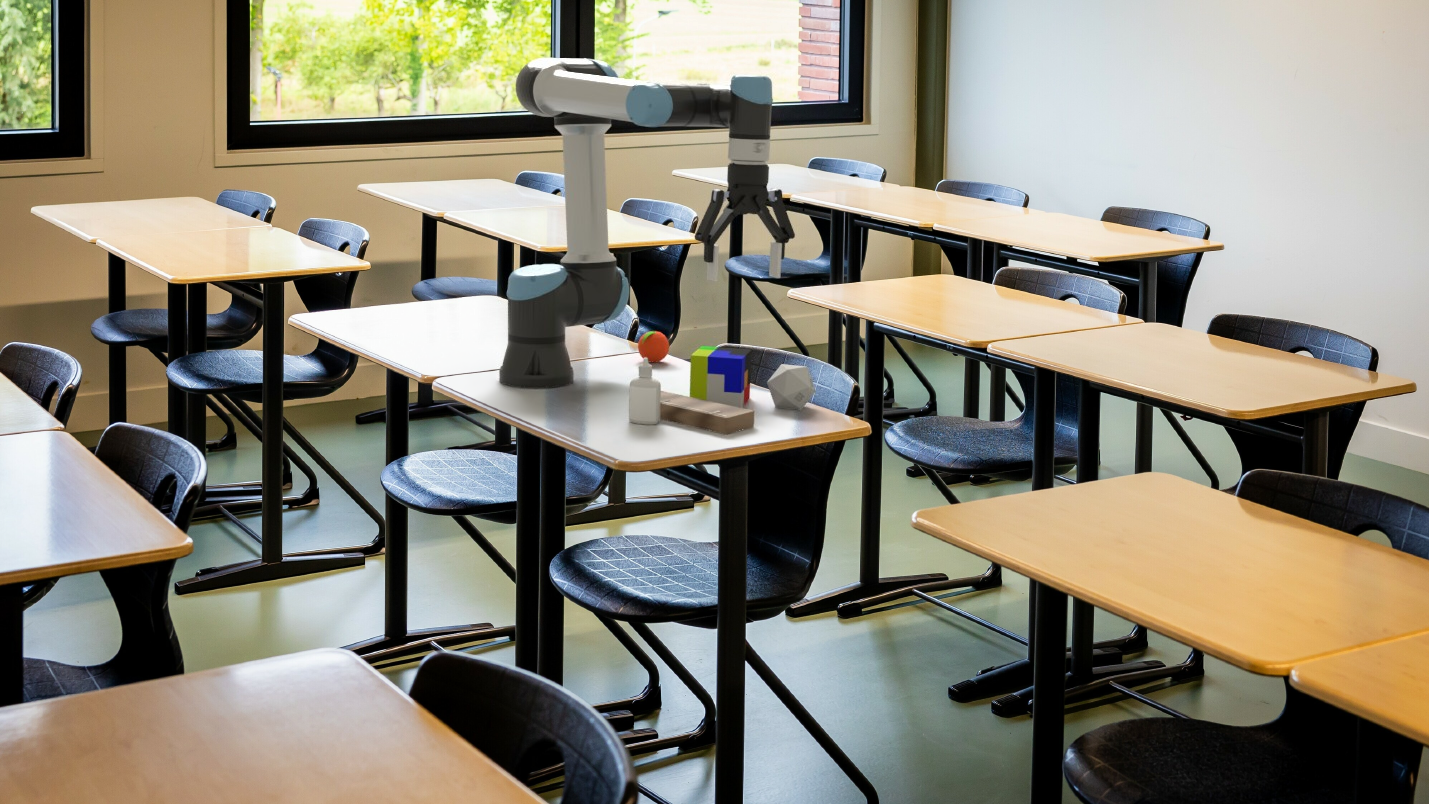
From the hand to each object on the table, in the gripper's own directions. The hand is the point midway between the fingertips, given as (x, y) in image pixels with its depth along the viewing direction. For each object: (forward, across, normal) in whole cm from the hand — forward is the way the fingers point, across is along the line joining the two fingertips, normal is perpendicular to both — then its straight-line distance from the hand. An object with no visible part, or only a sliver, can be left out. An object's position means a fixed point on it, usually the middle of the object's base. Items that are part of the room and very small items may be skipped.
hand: (743, 278), depth 261 cm
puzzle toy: (+26, +2, +10) cm, 28 cm away
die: (+26, +12, +1) cm, 29 cm away
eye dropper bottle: (+26, -20, +1) cm, 32 cm away
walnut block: (+26, -10, -1) cm, 28 cm away
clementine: (+26, +8, +49) cm, 56 cm away
